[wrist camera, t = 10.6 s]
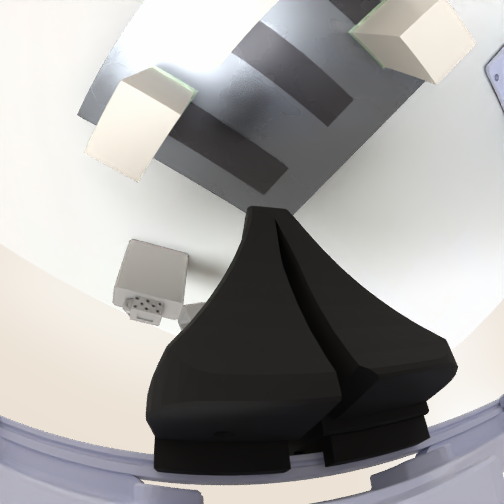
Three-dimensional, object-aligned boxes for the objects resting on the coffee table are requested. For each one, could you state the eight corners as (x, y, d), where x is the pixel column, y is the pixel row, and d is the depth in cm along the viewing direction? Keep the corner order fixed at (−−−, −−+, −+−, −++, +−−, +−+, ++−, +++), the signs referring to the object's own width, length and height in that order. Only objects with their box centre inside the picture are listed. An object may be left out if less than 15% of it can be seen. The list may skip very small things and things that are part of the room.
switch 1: (194, 92, 12) (181, 115, 9) (159, 141, 14) (137, 182, 10) (151, 66, 11) (121, 80, 8) (119, 118, 13) (83, 152, 9)
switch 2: (264, 10, 10) (280, -2, 7) (221, 58, 11) (218, 66, 8) (219, -18, 9) (216, -42, 5) (177, 31, 10) (155, 29, 7)
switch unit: (438, 52, 12) (451, 55, 11) (273, 220, 19) (276, 232, 18) (261, -103, 6) (264, -113, 5) (86, 108, 13) (76, 115, 12)
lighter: (127, 257, 20) (98, 357, 14) (130, 238, 19) (98, 341, 13) (222, 281, 22) (224, 382, 16) (230, 264, 21) (235, 369, 15)
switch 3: (419, 33, 10) (476, 44, 7) (385, 67, 12) (436, 85, 8) (389, -2, 9) (443, -5, 6) (352, 32, 11) (399, 36, 7)
